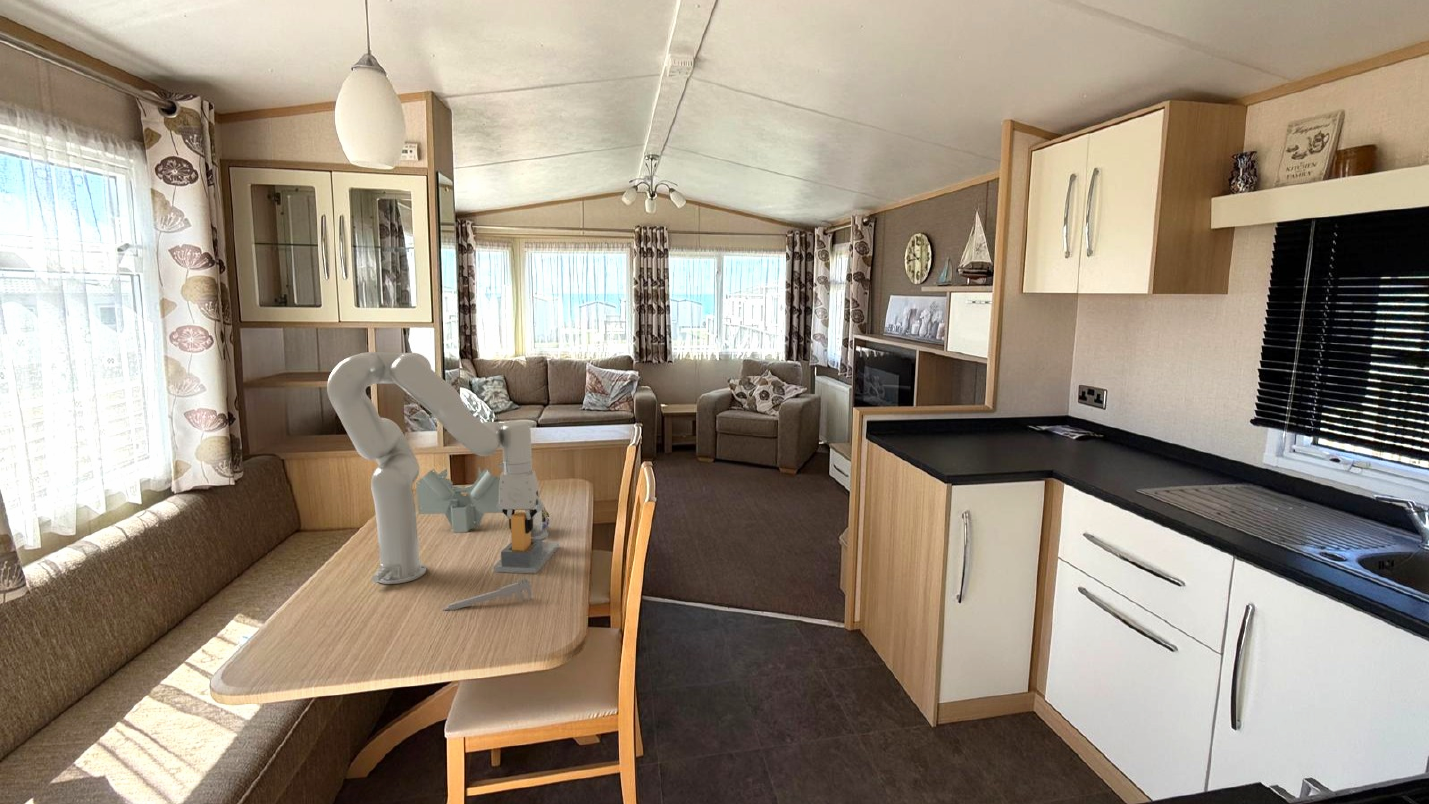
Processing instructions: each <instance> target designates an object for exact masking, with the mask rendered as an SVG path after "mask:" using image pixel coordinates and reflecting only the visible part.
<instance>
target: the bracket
mask: <svg viewBox="0 0 1429 804" xmlns="http://www.w3.org/2000/svg"><path fill="white" fill-rule="evenodd" d="M477 473H478V477H477V479H476V480H475V482H473V484H471V485H467V486H465V487H463V486H461V485H459V484H458V485H456V484H455V485H453V484H454V483H453V481H452V480H451V479H450V478H447V477H448V467H445V468H444V469H443V470H442V471H441V472H440V473H438V472H437V471H436V469H434V468H432V469H431V470H430V471H429V472H427V473H426V474H425V475H424V476H422V477H421V478H420V479H418V480H417V481H415V485H416V486H415V488H416V499H417V500H416V501H417V513H418V515H439V514H440V515H444V516H445V518H446V519H447V521H448V522H449V524H450V526H451V529H452V533H468V532H469V531H470V530H474V529H476V528H475V527H480V524H481V523H482V519H483V517H484V515H485V514H500V513H503V512H502V511H500V510H498V509H497V508H496V505H497V503H498V502H499V483H500V477H499V476H497V475H496V476H495V475H493V474H492V473H491V472H489V469H488V468H484V470H481V467H479V468H477ZM462 493H466V494H465V495H464V494H462ZM503 514H504V513H503Z"/></svg>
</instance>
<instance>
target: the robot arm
mask: <svg viewBox="0 0 1429 804" xmlns="http://www.w3.org/2000/svg"><path fill="white" fill-rule="evenodd" d="M326 384H327V385H326V390H327V391H326V392H327V396H328V399H329V401H330V403H331V405H332V407H333V409H334V411H335V413H336V414H337V416H338V418H339V419H340V422H341V425H342V426H343V428H344V430H345V431H346V434H347V435H348V437H349V439H350V441H351V443H352V445H353V446H354V448H355V451H357V454H358V455H359V456H361V457H362V458H363V459H366V460H367V461H368V460H369V461H376V463H377V464H378V466H377V467H376V469H375V470H374V471H373V474H372V476H371V480H370V488H371V494H372V499H373V504H374V510H375V521H376V528H377V529H376V532H377V542H378V554H379V564H380V565H378V568H379V569H378V570H377V571H376V572H375V573H374V574H373V575H372V576H371V581H372V582H373V583H379V584H382V585H383V584H384V585H398V584H404V583H407V582H410V581H411V582H412V581H414V580H416V579H419V578H421V577H423V576H424V574H426V572H427V566H426V564H424V563H423V562H421V561H420V551H419V538H418V526H417V524H418V523H417V514H416V512H417V511H416V504H415V498H414V494H413V484H414V483H415V482H416V480H417V478H418V477H419V474H420V465H419V462H418V459H417V457H416V455H415V453H414V451H413V449H412V448H411V445H410V443H409V442H408V440H407V437H406V436H405V434H404V433H403V431H402V429H401V428H400V427H399V425H398V424H397V423H396V422H395V421H393V420H391V419H390V418H385V417H381V416H380V415H379V413H378V411H377V409H376V407H375V405H374V403H373V401H372V400H371V399H370V397H369V396H368V395H367V393H366V389H367V388H368V387H370V386H372V385H374V384H375V385H377V384H379V385H380V384H389V385H390V384H395V385H397V386H398V387H399V388H401V390H403V391H404V392H405V393H407V395H408V396H410V397H411V398H413V399H414V400H415V401H416V402H418V404H420V405H421V406H422V407H424V408H425V409H426V410H427V411H429V413H431V414H432V415H433V416H434V417H435V419H436V420H437V421H438V422H439V423H440V424H441V426H442V427H443V428H444V429H445V430H446V431H447V432H448V433H449V435H451V436H452V437H453V438H454V439H455V440H456V441H458V442H459V443H460V444H461V445H463V447H465V448H466V449H467V450H468V451H470V452H472V453H473V454H474V455H477V456H479V457H488V456H491V455H493V454H495V452H496V451H497V450H498V449H499V448H502V462H499V464H498V468H499V469H502V472H501V473H500V477H499V478H500V483H499V502H498V503H497V505H496V508H497V509H498V510H500V511H502V512H503V515H505V516H506V518H507V519H508V526H509V529H510V530H511V516H512V515H513V514H515V513H516V511H517V510H518V511H525V513H526V520H525V532H526V534H528V533H529V532H530V531H531V530H532V529H533V516H534V515H535V514H536V513H537V512H539V511H541V510H543V509H544V507H545V504H543V502H542V499H541V500H540V489H539V484H538V478H537V474H536V471H535V470H533V456H532V454H533V453H532V452H533V451H532V437H531V427H530V425H529V423H528V422H526V421H525V422H524V421H512V422H497V421H484V422H481V421H480V420H479V419H478V418H477V417H476V416H475V415H473V413H471V411H470V410H469V409H468V408H467V406H466V405H465V403H464V402H463V400H462V398H461V395H460V394H459V392H458V391H457V390H456V389H455V388H454V386H453V385H451V384H449V383H448V382H447V381H445V380H444V379H443V377H441V375H438V374H437V373H436V372H435V371H434V370H433V369H432V366H431V363H430V361H429V360H428V358H427V357H426V356H424V355H422V354H421V353H416V352H383V351H381V352H379V351H378V352H377V351H373V352H371V351H370V352H369V351H368V352H361V353H358V354H354V355H351V356H348V357H347V358H345V359H343V360H341V361H340V362H339V363H338V364H337V365H336V366H335V367H334V368H333V370H332V371H331V373H330V374H329V377H328V380H327V383H326ZM536 505H537V508H535V509H534V510H533V508H534V507H535V506H536Z"/></svg>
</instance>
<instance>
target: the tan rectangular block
mask: <svg viewBox="0 0 1429 804" xmlns="http://www.w3.org/2000/svg"><path fill="white" fill-rule="evenodd" d="M525 520H526V513H525V510H518V511H515V514H513V515H512V516H511V529H510V534H511V537H510V538H511V542H512V550H521V551H526V550H527V549H528V548H529V547H530V546H531V531H530V532H529V533H528V534H526V532H525Z"/></svg>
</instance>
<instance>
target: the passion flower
mask: <svg viewBox="0 0 1429 804" xmlns="http://www.w3.org/2000/svg"><path fill="white" fill-rule="evenodd" d="M549 524H550V514H549V512H548V511H547V510H546V506H544V509H543V510H542V529H543V530H546V531H547V529H548V528H550V525H549Z"/></svg>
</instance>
